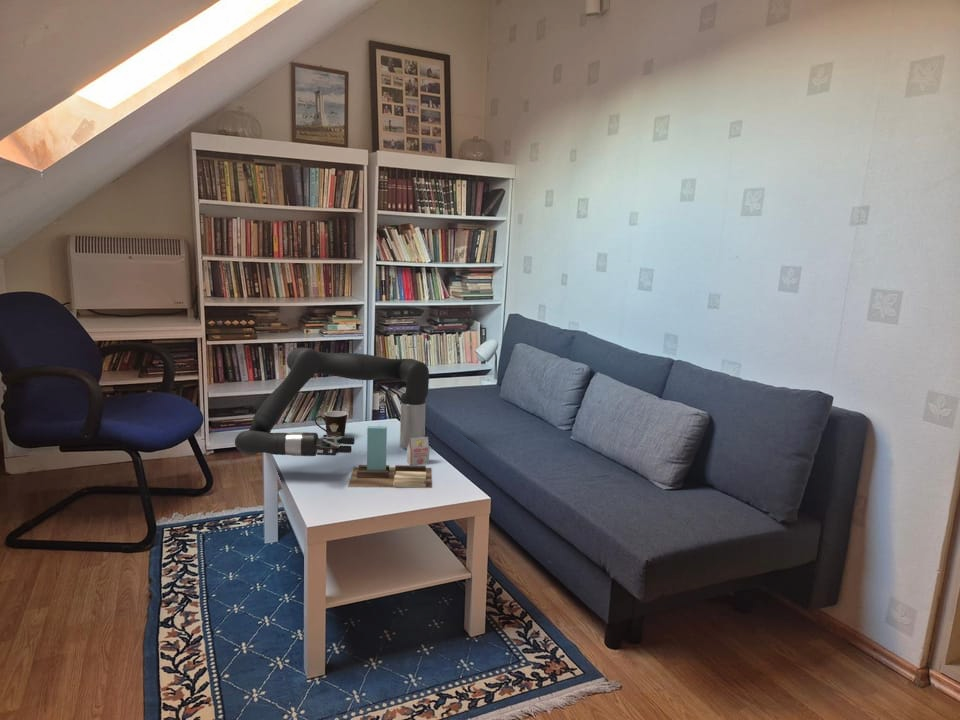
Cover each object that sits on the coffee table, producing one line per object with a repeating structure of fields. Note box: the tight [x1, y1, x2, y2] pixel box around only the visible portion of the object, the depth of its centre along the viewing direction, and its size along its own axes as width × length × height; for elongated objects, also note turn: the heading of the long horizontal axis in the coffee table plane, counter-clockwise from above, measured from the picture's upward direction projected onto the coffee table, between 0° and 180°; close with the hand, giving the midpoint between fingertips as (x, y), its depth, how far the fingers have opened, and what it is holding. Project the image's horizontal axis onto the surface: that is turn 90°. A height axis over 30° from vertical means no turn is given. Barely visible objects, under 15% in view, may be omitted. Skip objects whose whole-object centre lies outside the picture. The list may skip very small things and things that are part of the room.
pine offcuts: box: [392, 471, 426, 488], centre depth 199 cm, size 6×10×3 cm, turn 95°
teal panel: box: [366, 425, 388, 471], centre depth 205 cm, size 2×6×16 cm, turn 95°
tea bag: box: [406, 436, 430, 466], centre depth 219 cm, size 4×7×10 cm, turn 115°
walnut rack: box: [347, 464, 433, 489], centre depth 205 cm, size 18×26×3 cm
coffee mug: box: [314, 410, 348, 437], centre depth 245 cm, size 12×9×10 cm
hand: (353, 445), depth 204 cm, fingers open, 8 cm apart
